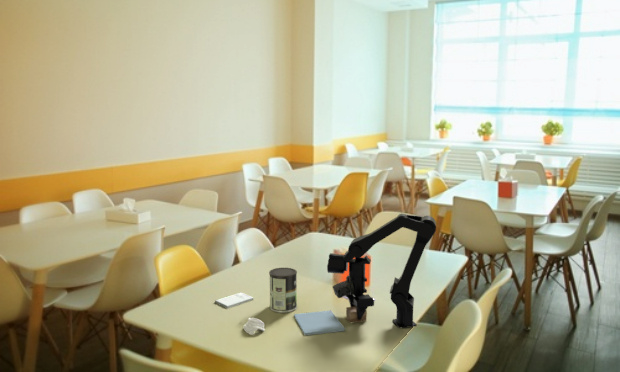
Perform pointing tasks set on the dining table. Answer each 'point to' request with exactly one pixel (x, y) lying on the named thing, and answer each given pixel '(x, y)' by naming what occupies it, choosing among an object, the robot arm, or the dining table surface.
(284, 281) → the coffee can
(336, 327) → the mat
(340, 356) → the dining table surface
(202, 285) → the dining table surface
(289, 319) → the dining table surface
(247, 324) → the white crumpled lump
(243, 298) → the external hard drive
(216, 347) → the dining table surface
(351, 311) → the walnut block
